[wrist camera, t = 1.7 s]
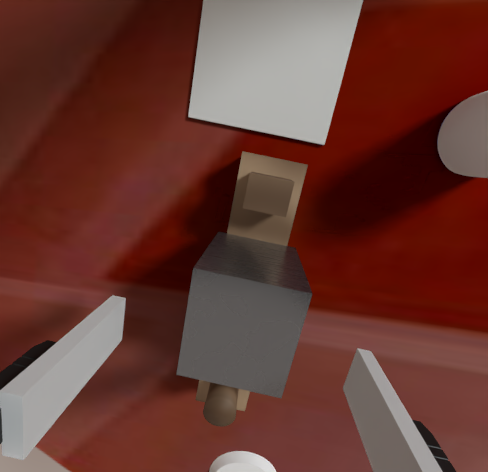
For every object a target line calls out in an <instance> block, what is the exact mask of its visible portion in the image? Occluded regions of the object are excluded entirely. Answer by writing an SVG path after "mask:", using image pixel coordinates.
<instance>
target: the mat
mask: <svg viewBox="0 0 488 472" xmlns="http://www.w3.org/2000/svg"><path fill="white" fill-rule="evenodd" d="M362 3H363V0H203V7H202V15H201V23H200V30H199V38H198V45H197V53H196V61H195V68H194V76H193V84H192V91H191V99H190V106H189V114H188V117H189V118H194V119H199V120H204V121H208V122H213V123H218V124H223V125H228V126H233V127H238V128H243V129H248V130H252V131H257V132H262V133H267V134H272V135H277V136H282V137H287V138H291V139H296V140H301V141H306V142H311V143H316V144H321V145H325V141H326V137H327V134H328V130H329V126H330V122H331V119H332V115H333V111H334V107H335V104H336V100H337V96H338V92H339V89H340V85H341V81H342V77H343V74H344V70H345V66H346V62H347V59H348V55H349V51H350V47H351V44H352V40H353V36H354V32H355V29H356V25H357V21H358V17H359V14H360V10H361V6H362Z"/></svg>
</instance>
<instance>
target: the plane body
mask: <svg viewBox="0 0 488 472" xmlns="http://www.w3.org/2000/svg"><path fill="white" fill-rule="evenodd" d="M307 166H308V165H306V164H301V163H296V162H291V161H286V160H282V159H277V158H272V157H267V156H262V155H257V154H253V153H248V152H243V151H242V156H241V161H240V167H239V172H238V177H237V183H236V188H235V193H234V199H233V204H232V209H231V215H230V220H229V225H228V230H227V233H228V234H233V235H238V236H242V237H247V238H252V239H256V240H261V241H266V242H270V243H275V244H280V245H284V246H287V244H288V240H289V236H290V232H291V229H292V225H293V221H294V217H295V213H296V209H297V205H298V201H299V197H300V193H301V189H302V186H303V182H304V178H305V174H306V170H307ZM249 393H250V391H247V390H243V389H238V388H234V387H229V386H225V385H220V384H216V383H211V382H207V381H203V380H199V384H198V390H197V395H196V400H198V401H202V402H205V406H204V410H203V414H204V417H205V419H206V420H207V421H208V422H209V423H211V424H213V425H215V426H227V425H229V424H231V423H232V422H233V421H234V419H235V417H236V409H237V410H242V411H245V408H246V404H247V401H248V397H249Z"/></svg>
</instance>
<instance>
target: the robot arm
mask: <svg viewBox="0 0 488 472" xmlns="http://www.w3.org/2000/svg"><path fill="white" fill-rule="evenodd" d="M125 303H126V298H123V297H119V296H114V295H112V296H111V297H110V298H109V299H108V300H106V301H105V302H104V303H103V304H102V305H100V306H99V307H98V308H97V309H96V310H95V311H93V312H92V313H91V314H90V315H89V316H87V317H86V318H85V319H84V320H83V321H82V322H80V323H79V324H78V325H77V326H76V327H74V328H73V329H72V330H71V331H70V332H69V333H67V334H66V335H65V336H64V337H63V338H61V339H60V340H59V341H58V342H53V341H48V340H47V341H45V342H43V343H41V344H38V345H36V346H34V347H33V348H31V349H30V350H29V351H27V352H26V353H25V354H24V355H22V357H20V358H18V359H17V360H16V361H15V362H13V364H12V365H9V366H8V367H7V368H6V369H4V370H3V371H2V372H0V444H2V455H3V456H7V457H12V458H16V459H21V460H24V459H25V458H26V456H27V455H28V454H29V453H30V452H31V450H32V449H33V448H34V447H35V446H36V444H37V443H38V442H39V441H40V439H41V438H42V437H43V436H44V435H45V433H46V432H47V431H48V430H49V428H50V427H51V426H52V425H53V424H54V422H55V421H56V420H57V419H58V417H59V416H60V415H61V414H62V413H63V411H64V410H65V409H66V408H67V406H68V405H69V404H70V403H71V402H72V400H73V399H74V398H75V397H76V395H77V394H78V393H79V392H80V391H81V389H82V388H83V387H84V386H85V384H86V383H87V382H88V381H89V380H90V378H91V377H92V376H93V375H94V374H95V372H96V371H97V370H98V369H99V367H100V366H101V365H102V364H103V363H104V361H105V360H106V359H107V358H108V356H109V355H110V354H111V353H112V352H113V350H114V349H115V348H116V347H117V345H118V344H119V343H120V342H121V341H122V335H123V324H124V313H125ZM343 390H344V393H345V396H346V398H347V401H348V404H349V407H350V409H351V412H352V415H353V418H354V420H355V423H356V426H357V428H358V431H359V434H360V437H361V439H362V442H363V445H364V448H365V450H366V453H367V456H368V459H369V461H370V464H371V467H372V470H373V472H456V471H455V469H454V467H453V466H452V464H451V463H450V461H448V458H447V456H446V455H445V453H444V452H443V450H441V447H440V445H439V444H438V442H437V441H436V439H435V438H434V436H433V435H432V433H431V432H430V431H429V430H428V429H427V428H426V427H425V426H424V425H423V424H422V423H421V422H420V421H415V420H412V419H411V418H410V416H409V414H408V412H407V411H406V409H405V407H404V406H403V404H402V402H401V401H400V399H399V397H398V396H397V394H396V392H395V391H394V389H393V387H392V386H391V384H390V382H389V381H388V379H387V377H386V375H385V374H384V372H383V370H382V369H381V367H380V365H379V364H378V362H377V360H376V359H375V357H374V355H373V354H372V352H371V351H368V350H363V349H358V348H357V351H356V354H355V356H354V359H353V362H352V365H351V367H350V370H349V373H348V376H347V378H346V381H345V384H344V387H343Z"/></svg>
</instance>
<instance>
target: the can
mask: <svg viewBox="0 0 488 472" xmlns="http://www.w3.org/2000/svg"><path fill="white" fill-rule="evenodd" d="M437 145H438V152H439V156H440V158H441V160H442V162H443V163H444V165H445V166H446V167H447V168H448V169H449V170H451V171H452V172H454V173H457V174H460V175H464V176H471V177H484V178H488V91H486V92H483V93H480V94H477V95H474V96H472V97H470V98H468V99H466V100H464V101H462V102H461V103H460V104H458V105H457V106H456V107H455V108H454V109H453V110H452V111H451V112H450V113H449V114H448V115H447V117H446V118H445V120H444V122H443V124H442V126H441V128H440V131H439V135H438V143H437Z"/></svg>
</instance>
